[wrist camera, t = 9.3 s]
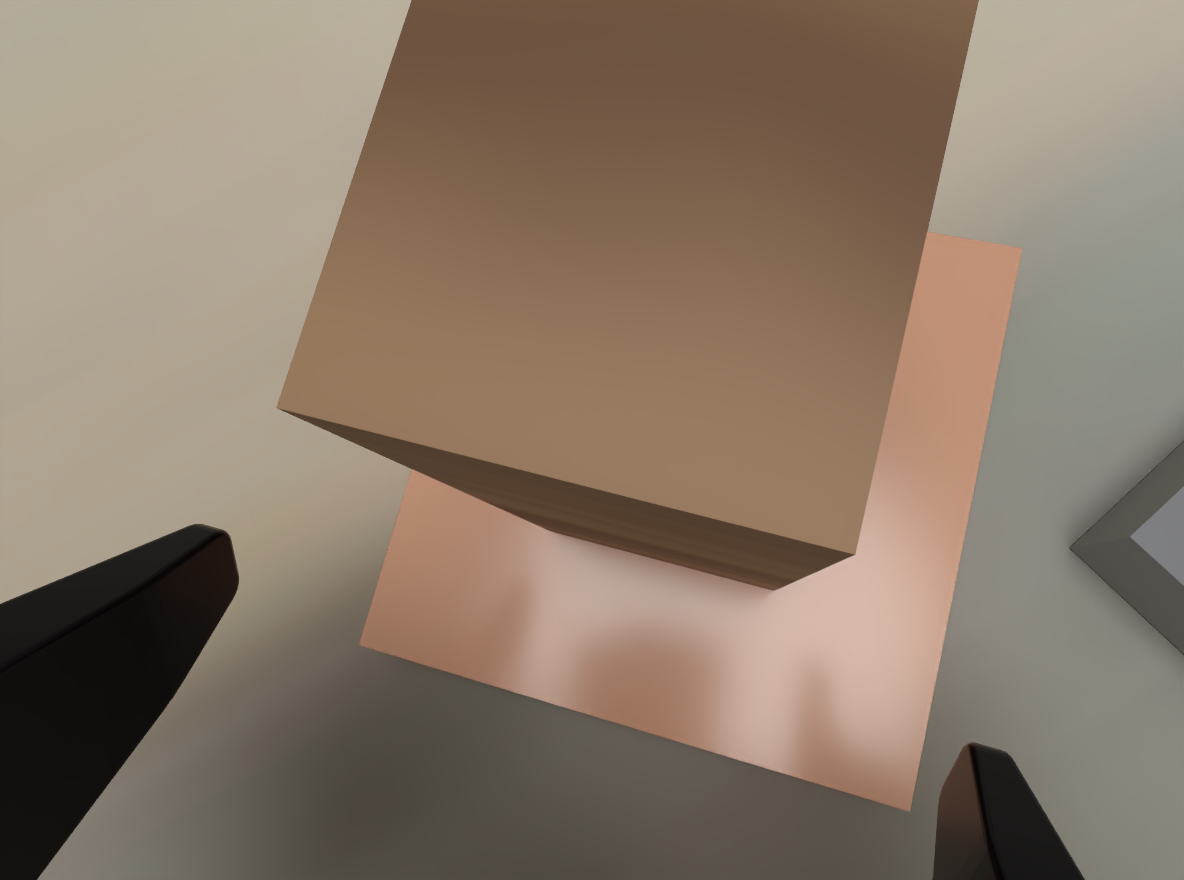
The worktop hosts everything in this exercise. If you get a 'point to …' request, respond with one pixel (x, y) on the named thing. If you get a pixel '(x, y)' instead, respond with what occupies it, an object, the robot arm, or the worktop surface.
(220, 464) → the worktop surface
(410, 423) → the walnut block
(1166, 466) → the slate shelf ledge
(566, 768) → the worktop surface
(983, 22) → the worktop surface
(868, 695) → the terracotta tile stand
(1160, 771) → the worktop surface
